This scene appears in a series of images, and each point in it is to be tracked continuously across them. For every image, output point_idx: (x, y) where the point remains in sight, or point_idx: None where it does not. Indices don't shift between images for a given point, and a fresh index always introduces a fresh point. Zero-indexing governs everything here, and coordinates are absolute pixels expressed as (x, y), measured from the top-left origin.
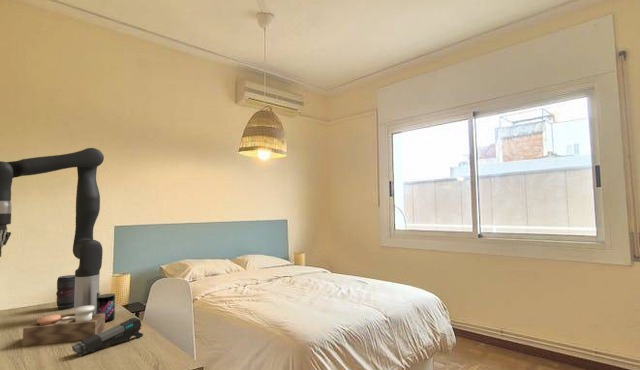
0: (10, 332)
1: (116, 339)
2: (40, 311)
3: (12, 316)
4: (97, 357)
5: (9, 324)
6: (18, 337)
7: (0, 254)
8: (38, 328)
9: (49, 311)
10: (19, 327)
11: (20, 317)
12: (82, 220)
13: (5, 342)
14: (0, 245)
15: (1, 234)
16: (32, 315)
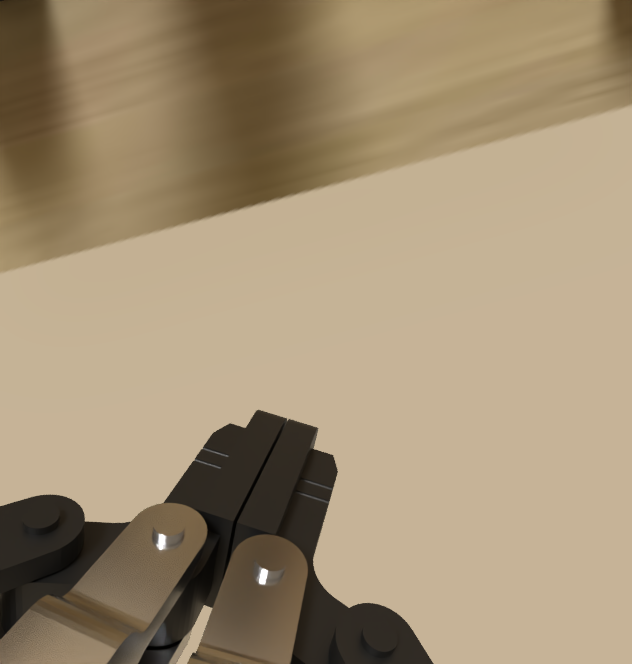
0: (409, 142)
1: None
2: (26, 99)
3: (80, 222)
4: None
5: (236, 193)
6: (554, 64)
7: (265, 431)
8: None
9: (42, 43)
10: (328, 122)
11: (116, 176)
12: None
13: (614, 109)
14: (198, 559)
15: None
16: (98, 121)
